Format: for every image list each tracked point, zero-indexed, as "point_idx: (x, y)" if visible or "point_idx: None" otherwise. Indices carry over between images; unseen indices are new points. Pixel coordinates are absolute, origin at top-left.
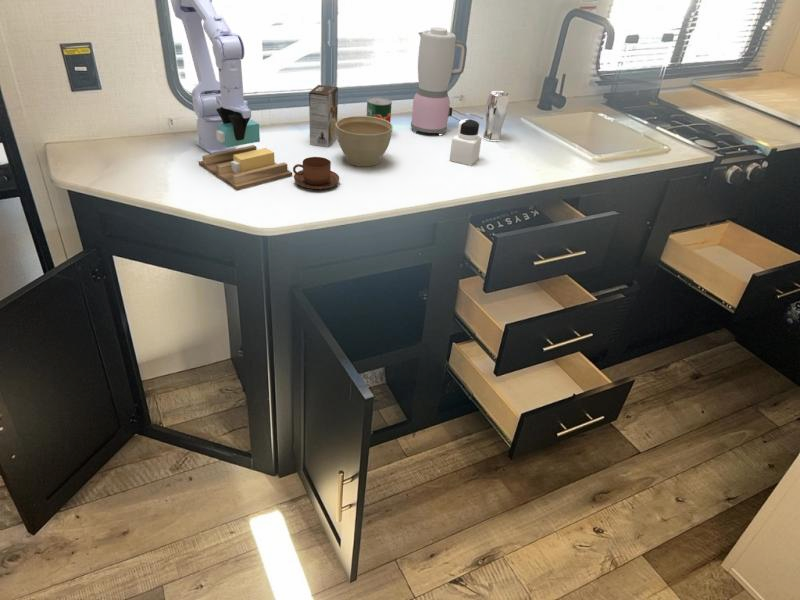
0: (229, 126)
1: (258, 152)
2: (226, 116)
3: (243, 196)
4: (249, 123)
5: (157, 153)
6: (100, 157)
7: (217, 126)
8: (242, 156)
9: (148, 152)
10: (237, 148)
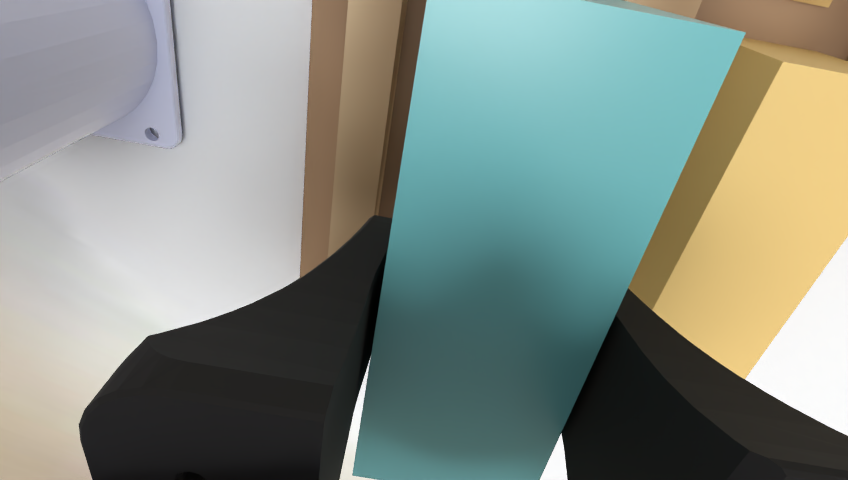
0: (485, 440)
1: (779, 209)
2: (338, 472)
3: (787, 384)
4: (585, 173)
5: (39, 332)
6: (10, 475)
7: (4, 137)
8: (704, 349)
9: (9, 350)
10: (346, 73)
